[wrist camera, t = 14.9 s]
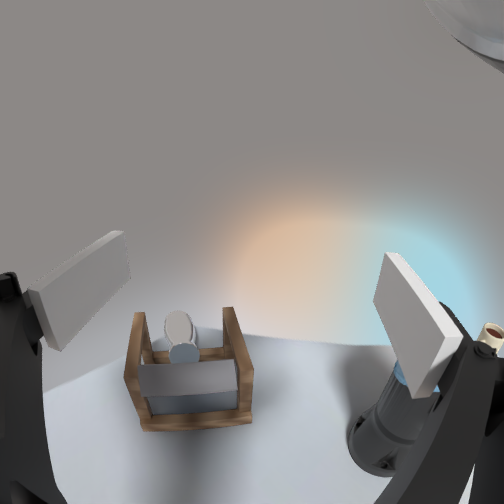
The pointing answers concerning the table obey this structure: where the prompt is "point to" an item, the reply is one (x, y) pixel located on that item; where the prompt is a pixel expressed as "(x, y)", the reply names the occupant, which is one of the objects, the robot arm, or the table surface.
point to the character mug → (492, 336)
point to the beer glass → (181, 338)
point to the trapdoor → (187, 378)
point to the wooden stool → (230, 349)
